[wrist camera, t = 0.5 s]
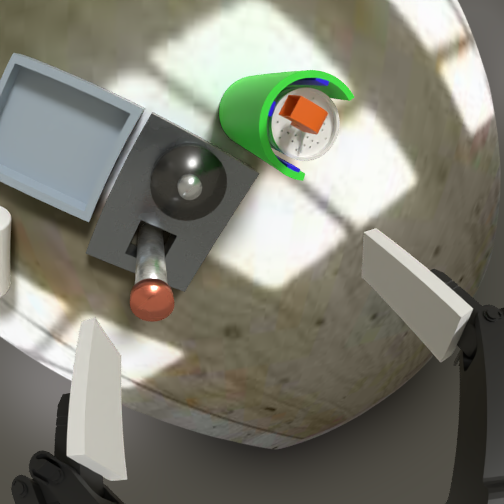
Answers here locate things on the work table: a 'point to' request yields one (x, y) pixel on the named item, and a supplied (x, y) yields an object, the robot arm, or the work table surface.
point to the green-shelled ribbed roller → (284, 115)
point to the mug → (5, 250)
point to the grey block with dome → (171, 199)
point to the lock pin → (151, 277)
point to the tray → (60, 134)
